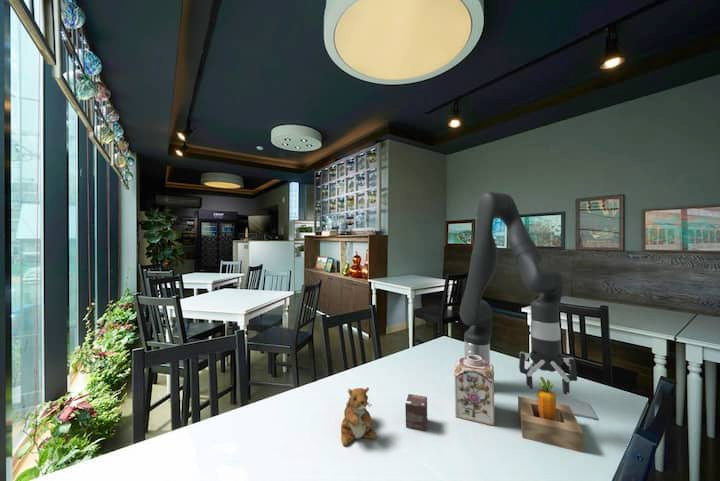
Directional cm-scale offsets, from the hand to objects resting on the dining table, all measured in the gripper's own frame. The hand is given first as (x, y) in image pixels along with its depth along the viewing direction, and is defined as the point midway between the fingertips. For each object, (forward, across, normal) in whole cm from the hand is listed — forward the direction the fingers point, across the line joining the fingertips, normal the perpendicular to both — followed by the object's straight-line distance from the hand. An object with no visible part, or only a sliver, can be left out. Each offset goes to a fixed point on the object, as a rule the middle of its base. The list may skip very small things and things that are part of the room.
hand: (547, 390), depth 84 cm
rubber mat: (+12, +10, +17) cm, 23 cm away
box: (+12, -36, -13) cm, 40 cm away
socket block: (+12, 0, 0) cm, 12 cm away
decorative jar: (+12, -20, +1) cm, 23 cm away
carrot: (+12, 0, 0) cm, 12 cm away
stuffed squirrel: (+11, -52, -23) cm, 58 cm away
